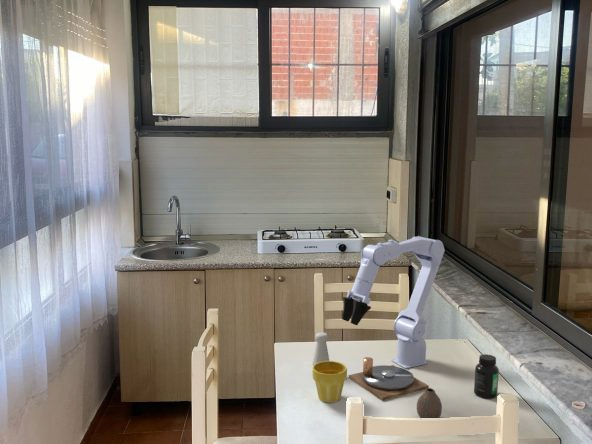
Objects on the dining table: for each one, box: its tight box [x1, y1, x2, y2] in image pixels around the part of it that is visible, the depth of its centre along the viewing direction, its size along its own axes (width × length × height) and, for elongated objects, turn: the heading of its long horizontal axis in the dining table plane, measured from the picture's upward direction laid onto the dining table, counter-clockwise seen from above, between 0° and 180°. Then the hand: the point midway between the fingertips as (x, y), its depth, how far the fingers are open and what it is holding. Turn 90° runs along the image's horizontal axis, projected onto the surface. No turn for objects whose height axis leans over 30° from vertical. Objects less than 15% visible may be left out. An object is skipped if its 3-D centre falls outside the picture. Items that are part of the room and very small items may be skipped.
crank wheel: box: [362, 356, 414, 390], centre depth 190 cm, size 16×16×7 cm
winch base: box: [348, 364, 430, 402], centre depth 191 cm, size 18×18×1 cm
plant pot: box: [312, 360, 348, 404], centre depth 179 cm, size 10×10×10 cm
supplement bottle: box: [473, 354, 500, 400], centre depth 183 cm, size 7×7×12 cm
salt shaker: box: [312, 331, 330, 367], centre depth 198 cm, size 6×6×13 cm
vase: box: [416, 387, 443, 419], centre depth 167 cm, size 7×7×9 cm
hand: (349, 322), depth 187 cm, fingers open, 7 cm apart
